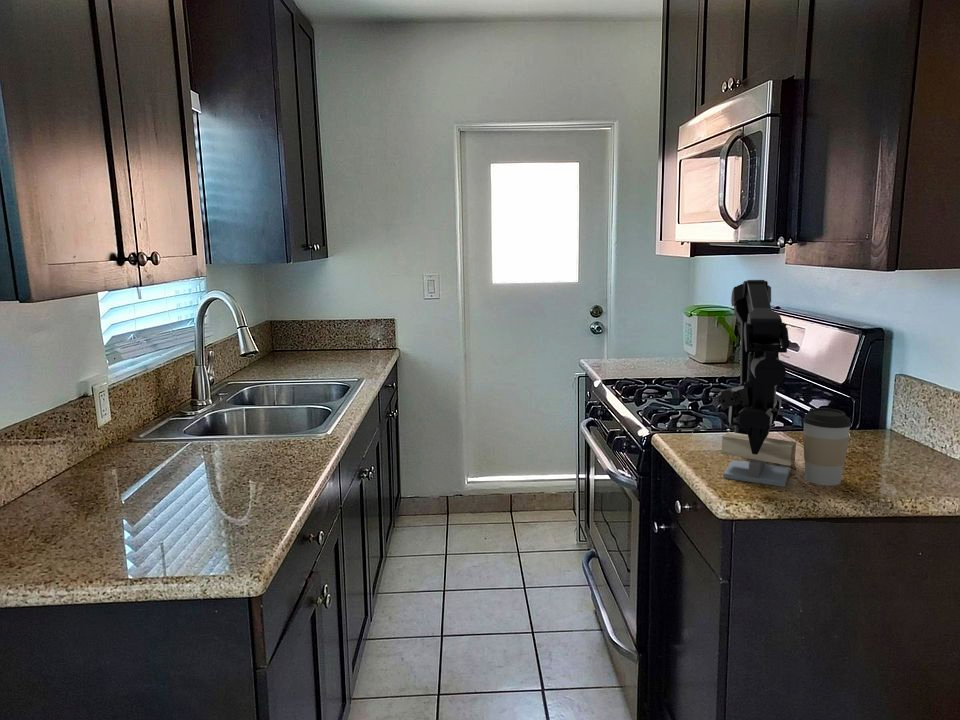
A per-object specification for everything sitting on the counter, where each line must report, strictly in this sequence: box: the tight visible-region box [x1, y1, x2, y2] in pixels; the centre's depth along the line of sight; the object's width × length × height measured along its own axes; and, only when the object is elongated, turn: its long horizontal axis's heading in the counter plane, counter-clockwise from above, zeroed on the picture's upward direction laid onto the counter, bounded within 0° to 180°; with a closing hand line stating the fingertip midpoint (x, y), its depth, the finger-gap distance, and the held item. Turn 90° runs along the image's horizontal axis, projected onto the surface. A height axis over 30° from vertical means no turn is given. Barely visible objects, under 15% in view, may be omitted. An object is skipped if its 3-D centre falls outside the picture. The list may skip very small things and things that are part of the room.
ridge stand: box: [722, 459, 791, 488], centre depth 146 cm, size 10×12×4 cm
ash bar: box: [721, 431, 797, 466], centre depth 145 cm, size 4×14×4 cm, turn 52°
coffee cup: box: [802, 407, 852, 487], centre depth 141 cm, size 9×9×15 cm
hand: (758, 448), depth 145 cm, fingers open, 9 cm apart
